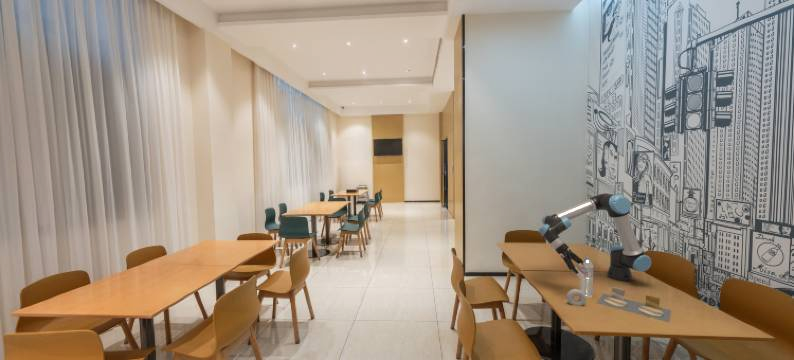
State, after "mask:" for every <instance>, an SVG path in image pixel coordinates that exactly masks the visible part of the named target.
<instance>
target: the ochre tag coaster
mask: <svg viewBox="0 0 794 360" xmlns="http://www.w3.org/2000/svg"><path fill="white" fill-rule="evenodd" d="M660 301H661V299H660V297H659V296H658V297H657V296H653V295H649V294H645V303H644V304H645V306H640V307H638V310H639V311H640V312H642V313H644V314H647V315H650V316H656V317H662V316H664V313H663V312H662V311H661V310H658V309H659V307H660ZM648 306H649V307H648ZM652 307H653V308H652ZM656 308H657V309H656Z"/></svg>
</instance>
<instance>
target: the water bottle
mask: <svg viewBox="0 0 794 360" xmlns="http://www.w3.org/2000/svg"><path fill="white" fill-rule="evenodd" d="M582 260H583V261H582V262H581V267H580V272H581V273H582V274H583V276H584V277H583V278H581V279H580V278H579V290H581V291H582V292H583V293H584V294H585V296H586V298H589V299H590V298H593V296H594V295H593V293H594V267H595V265H594V263H593V262H592V260H591V259H590V257H589V256H585V259H582Z"/></svg>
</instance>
